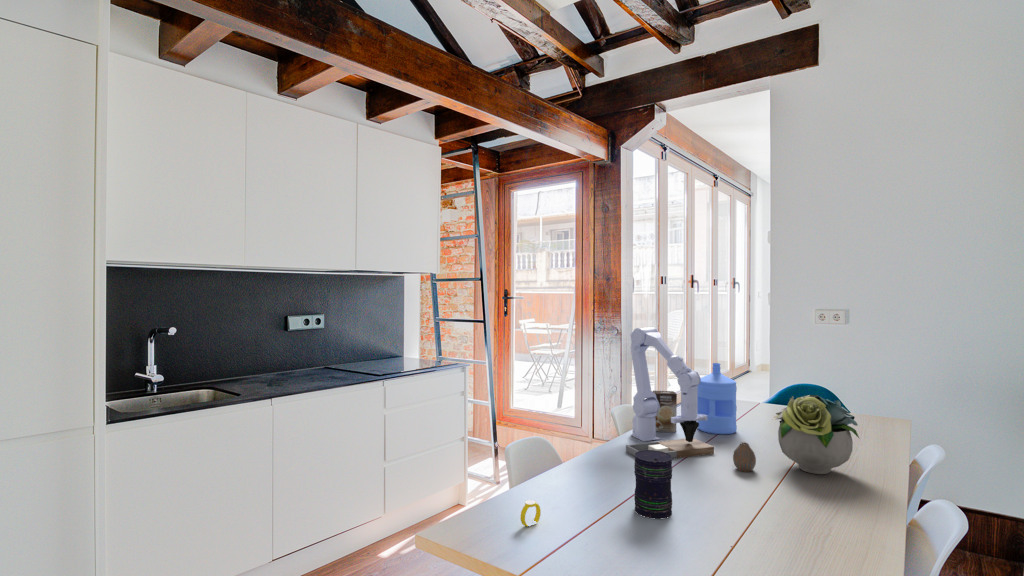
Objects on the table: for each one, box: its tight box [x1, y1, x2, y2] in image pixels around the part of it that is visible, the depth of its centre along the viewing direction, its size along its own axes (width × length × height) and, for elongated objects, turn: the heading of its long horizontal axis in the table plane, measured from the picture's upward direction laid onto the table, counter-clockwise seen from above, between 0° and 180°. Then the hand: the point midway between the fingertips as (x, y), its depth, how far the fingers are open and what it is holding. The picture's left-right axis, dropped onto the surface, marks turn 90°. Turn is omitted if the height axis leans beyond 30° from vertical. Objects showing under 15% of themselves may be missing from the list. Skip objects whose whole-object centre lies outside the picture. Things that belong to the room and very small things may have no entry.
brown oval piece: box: [732, 441, 757, 473], centre depth 173 cm, size 7×7×9 cm
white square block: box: [648, 444, 669, 452], centre depth 188 cm, size 5×5×2 cm
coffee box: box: [652, 390, 678, 433], centre depth 221 cm, size 9×6×16 cm
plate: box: [657, 437, 715, 459], centre depth 193 cm, size 12×16×2 cm
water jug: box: [697, 362, 738, 435], centre depth 221 cm, size 16×16×28 cm
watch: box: [520, 499, 542, 527], centre depth 132 cm, size 6×3×6 cm, turn 133°
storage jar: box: [633, 450, 673, 520], centre depth 141 cm, size 10×10×15 cm
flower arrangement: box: [772, 394, 860, 475], centre depth 172 cm, size 25×25×24 cm
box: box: [625, 441, 678, 460], centre depth 188 cm, size 12×13×2 cm
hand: (689, 441), depth 193 cm, fingers closed
